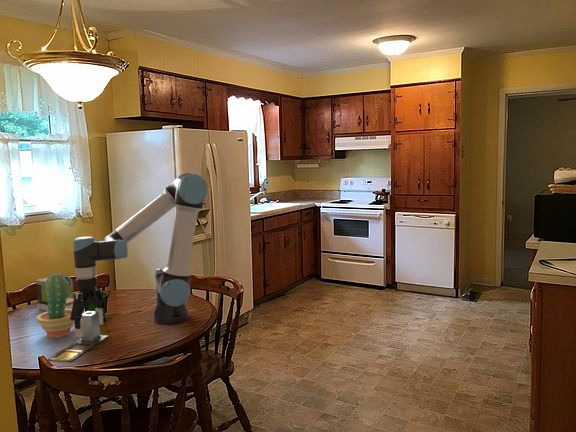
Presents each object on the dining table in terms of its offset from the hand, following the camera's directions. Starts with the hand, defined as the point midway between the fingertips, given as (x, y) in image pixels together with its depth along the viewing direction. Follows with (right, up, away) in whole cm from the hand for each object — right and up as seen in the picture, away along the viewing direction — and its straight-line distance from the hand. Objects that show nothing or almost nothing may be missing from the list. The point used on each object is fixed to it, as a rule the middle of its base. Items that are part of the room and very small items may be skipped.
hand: (90, 330), depth 190 cm
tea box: (-33, 0, +41) cm, 53 cm away
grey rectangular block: (0, -4, 0) cm, 4 cm away
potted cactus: (-17, -4, +9) cm, 19 cm away
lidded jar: (-24, -1, +29) cm, 38 cm away
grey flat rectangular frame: (-1, -5, -7) cm, 9 cm away
